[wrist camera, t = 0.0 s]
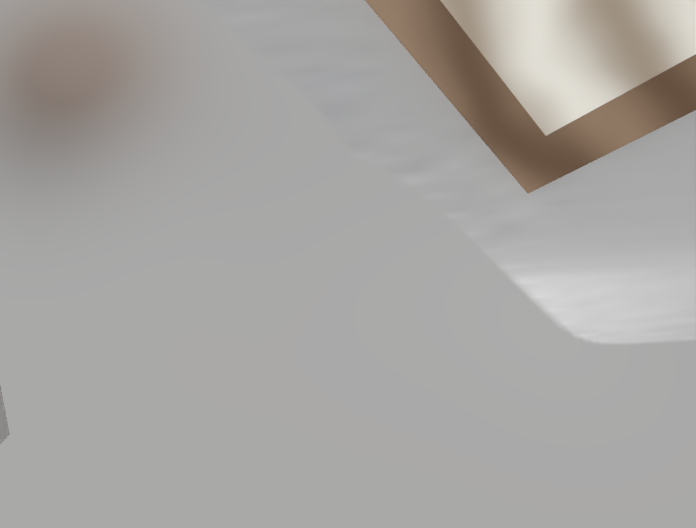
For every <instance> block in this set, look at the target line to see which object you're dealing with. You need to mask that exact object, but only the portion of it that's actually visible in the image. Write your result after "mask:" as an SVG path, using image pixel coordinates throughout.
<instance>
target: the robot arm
mask: <svg viewBox="0 0 696 528" xmlns="http://www.w3.org/2000/svg"><path fill="white" fill-rule="evenodd" d="M8 435H9V429H8V424H7V418H6V413H5V408H4V403H3V397H2V392H1V387H0V444H1V443H2V442H3V441H4V440H5V439H6V438H7V436H8Z"/></svg>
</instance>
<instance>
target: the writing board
mask: <svg viewBox="0 0 696 528" xmlns="http://www.w3.org/2000/svg"><path fill="white" fill-rule="evenodd" d="M365 1H366V2H367V3H368V4H369V6H370V7H371V8H372V9H373V10H374V12H375V13H376V14H377V15H378V16H379V17H380V19H381V20H382V21H383V22H384V23H385V25H386V26H387V27H388V28H389V29H390V31H391V32H392V33H393V34H394V35H395V36H396V38H397V39H398V40H399V41H400V42H401V44H402V45H403V46H404V47H405V48H406V50H407V51H408V52H409V53H410V54H411V55H412V57H413V58H414V59H415V60H416V61H417V63H418V64H419V65H420V66H421V67H422V69H423V70H424V71H425V72H426V73H427V74H428V76H429V77H430V78H431V79H432V80H433V82H434V83H435V84H436V85H437V86H438V88H439V89H440V90H441V91H442V92H443V93H444V95H445V96H446V97H447V98H448V99H449V101H450V102H451V103H452V104H453V105H454V107H455V108H456V109H457V110H458V111H459V112H460V114H461V115H462V116H463V117H464V118H465V120H466V121H467V122H468V123H469V124H470V126H471V127H472V128H473V129H474V130H475V131H476V133H477V134H478V135H479V136H480V137H481V139H482V140H483V141H484V142H485V143H486V145H487V146H488V147H489V148H490V149H491V150H492V152H493V153H494V154H495V155H496V156H497V158H498V159H499V160H500V161H501V162H502V164H503V165H504V166H505V167H506V168H507V169H508V171H509V172H510V173H511V174H512V175H513V177H514V178H515V179H516V180H517V181H518V183H519V184H520V185H521V186H522V187H523V188H524V190H525V191H526V192H527V193H530V192H532V191H534V190H536V189H538V188H540V187H542V186H544V185H546V184H548V183H550V182H552V181H554V180H556V179H558V178H560V177H562V176H564V175H566V174H568V173H570V172H572V171H574V170H576V169H578V168H580V167H582V166H584V165H586V164H588V163H590V162H592V161H594V160H596V159H598V158H600V157H602V156H604V155H606V154H608V153H610V152H612V151H614V150H616V149H618V148H620V147H622V146H624V145H626V144H628V143H630V142H632V141H634V140H636V139H638V138H640V137H642V136H644V135H646V134H648V133H650V132H652V131H654V130H656V129H658V128H660V127H662V126H664V125H666V124H668V123H670V122H672V121H674V120H676V119H678V118H680V117H682V116H684V115H686V114H688V113H690V112H692V111H694V110H696V0H365Z"/></svg>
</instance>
